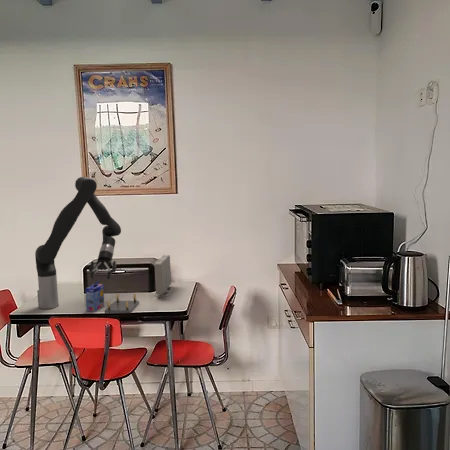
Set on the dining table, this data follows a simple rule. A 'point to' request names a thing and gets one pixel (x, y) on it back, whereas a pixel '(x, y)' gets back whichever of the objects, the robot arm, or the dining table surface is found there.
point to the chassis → (122, 306)
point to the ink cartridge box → (94, 297)
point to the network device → (163, 276)
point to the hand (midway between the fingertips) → (100, 278)
